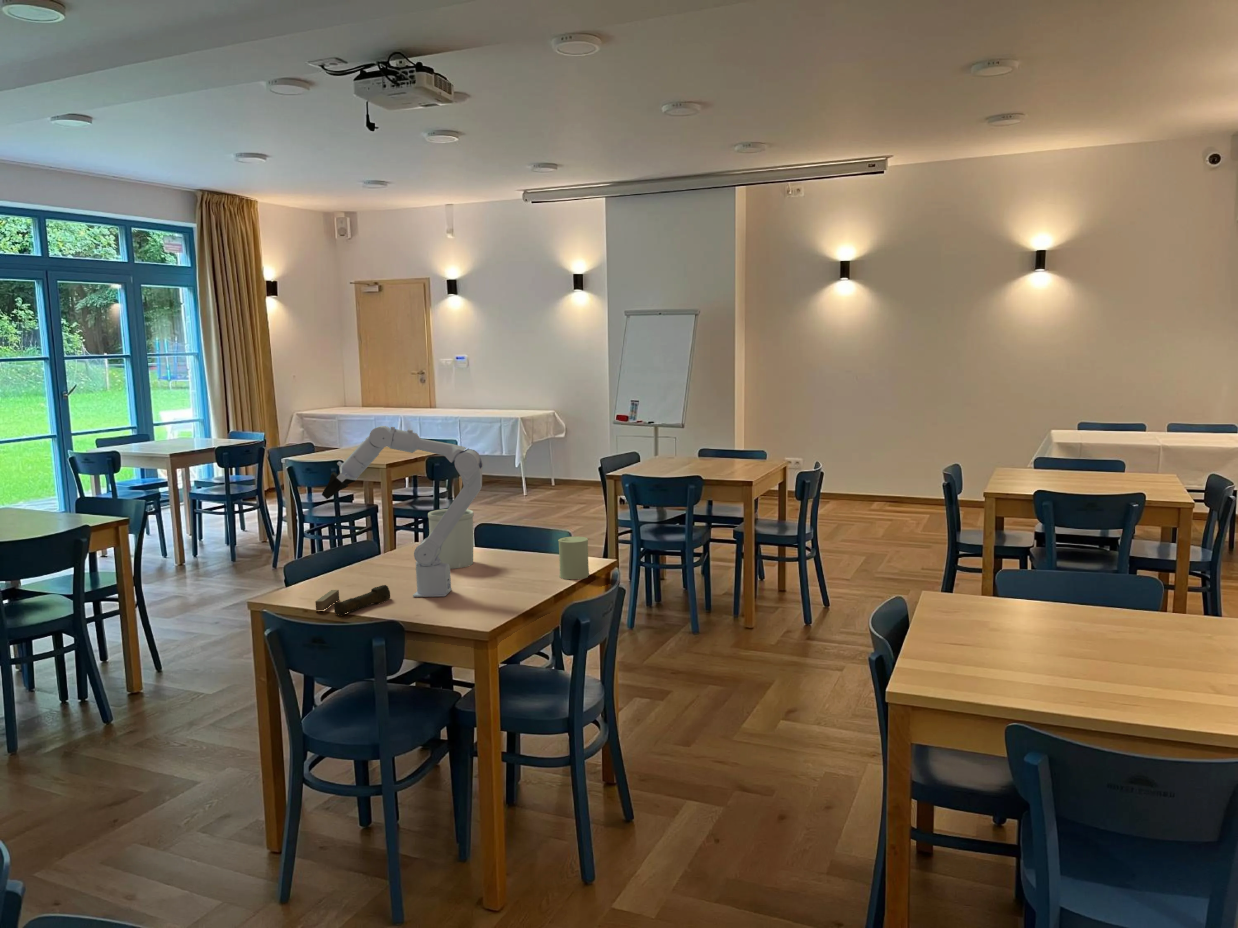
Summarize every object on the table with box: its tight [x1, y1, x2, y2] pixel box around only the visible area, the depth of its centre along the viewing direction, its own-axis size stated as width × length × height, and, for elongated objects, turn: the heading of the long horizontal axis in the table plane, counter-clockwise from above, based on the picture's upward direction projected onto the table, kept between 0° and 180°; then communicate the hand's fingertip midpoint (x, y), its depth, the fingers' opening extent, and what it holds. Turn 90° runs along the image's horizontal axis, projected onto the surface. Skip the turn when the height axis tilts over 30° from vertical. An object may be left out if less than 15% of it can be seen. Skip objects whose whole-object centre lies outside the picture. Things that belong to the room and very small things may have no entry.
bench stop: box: [314, 589, 340, 611], centre depth 248 cm, size 2×12×3 cm, turn 177°
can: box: [557, 536, 590, 580], centre depth 275 cm, size 9×9×12 cm
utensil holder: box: [427, 508, 475, 570], centre depth 294 cm, size 15×15×18 cm
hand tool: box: [333, 584, 391, 617], centre depth 246 cm, size 19×4×5 cm, turn 147°
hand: (328, 494), depth 254 cm, fingers open, 7 cm apart
